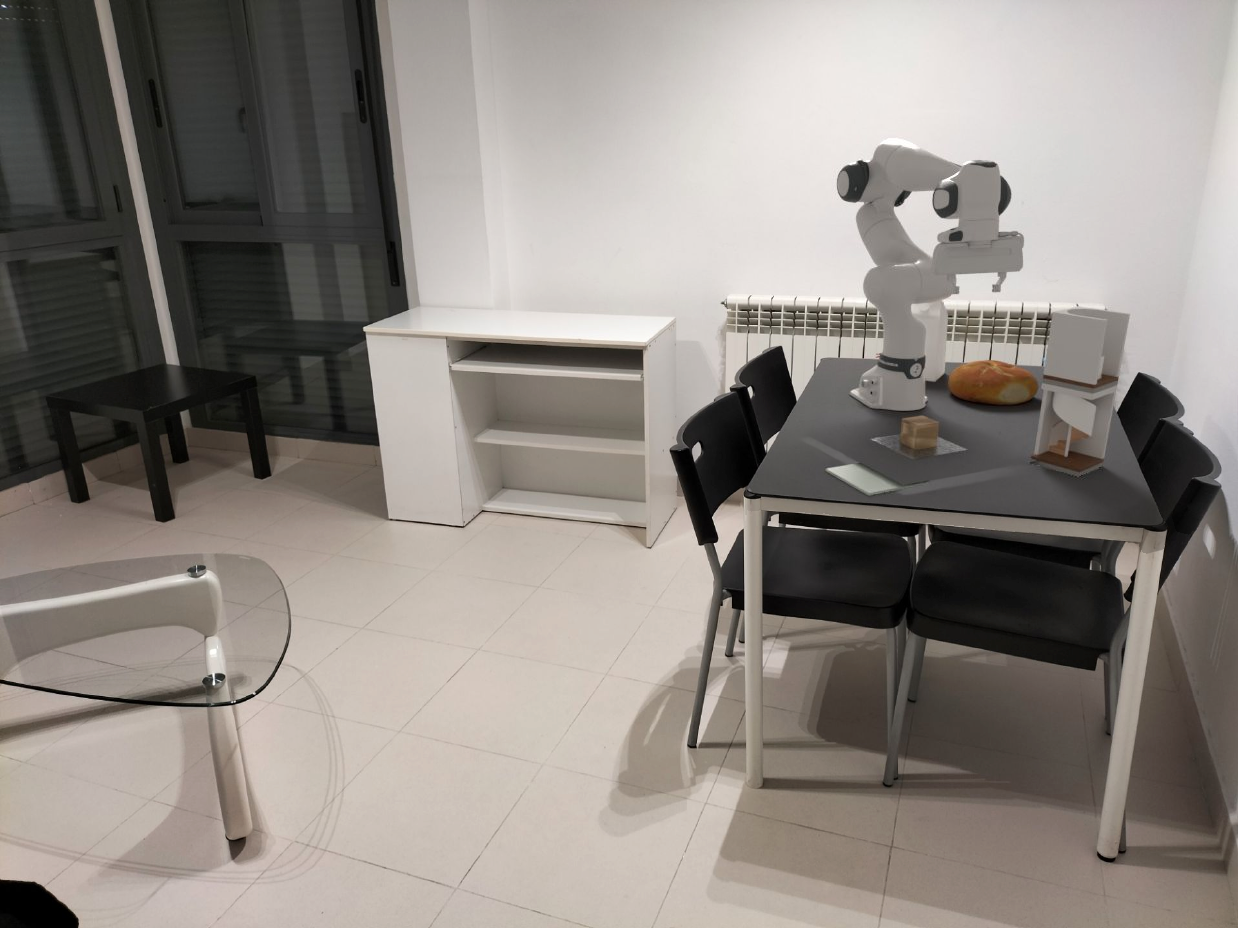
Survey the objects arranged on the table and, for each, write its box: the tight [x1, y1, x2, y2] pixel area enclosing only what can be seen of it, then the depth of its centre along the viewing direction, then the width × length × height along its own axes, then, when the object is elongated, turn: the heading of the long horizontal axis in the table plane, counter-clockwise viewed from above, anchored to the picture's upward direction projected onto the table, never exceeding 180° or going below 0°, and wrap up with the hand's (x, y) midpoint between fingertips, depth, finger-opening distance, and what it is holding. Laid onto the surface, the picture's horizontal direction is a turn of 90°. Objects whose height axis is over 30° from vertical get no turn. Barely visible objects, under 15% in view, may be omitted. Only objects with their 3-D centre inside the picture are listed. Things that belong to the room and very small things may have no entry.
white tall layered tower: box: [1029, 305, 1131, 477], centre depth 204 cm, size 11×11×35 cm
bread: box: [947, 359, 1039, 406], centre depth 260 cm, size 23×23×10 cm
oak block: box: [900, 414, 940, 450], centre depth 220 cm, size 6×6×6 cm
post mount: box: [870, 433, 968, 460], centre depth 220 cm, size 16×16×6 cm
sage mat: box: [825, 462, 931, 497], centre depth 205 cm, size 16×16×1 cm
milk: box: [911, 300, 949, 383], centre depth 281 cm, size 12×12×26 cm
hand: (975, 293), depth 218 cm, fingers open, 8 cm apart
